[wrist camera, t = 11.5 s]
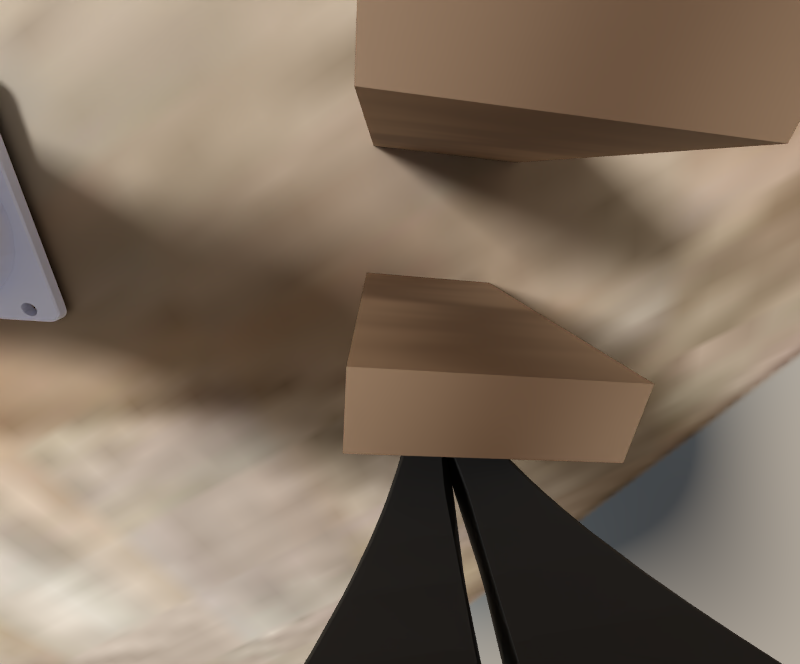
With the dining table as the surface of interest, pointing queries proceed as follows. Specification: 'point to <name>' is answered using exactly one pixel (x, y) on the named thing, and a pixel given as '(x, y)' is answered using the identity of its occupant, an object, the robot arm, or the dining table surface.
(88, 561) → the dining table surface
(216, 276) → the dining table surface
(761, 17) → the domino
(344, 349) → the dining table surface
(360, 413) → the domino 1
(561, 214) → the dining table surface
